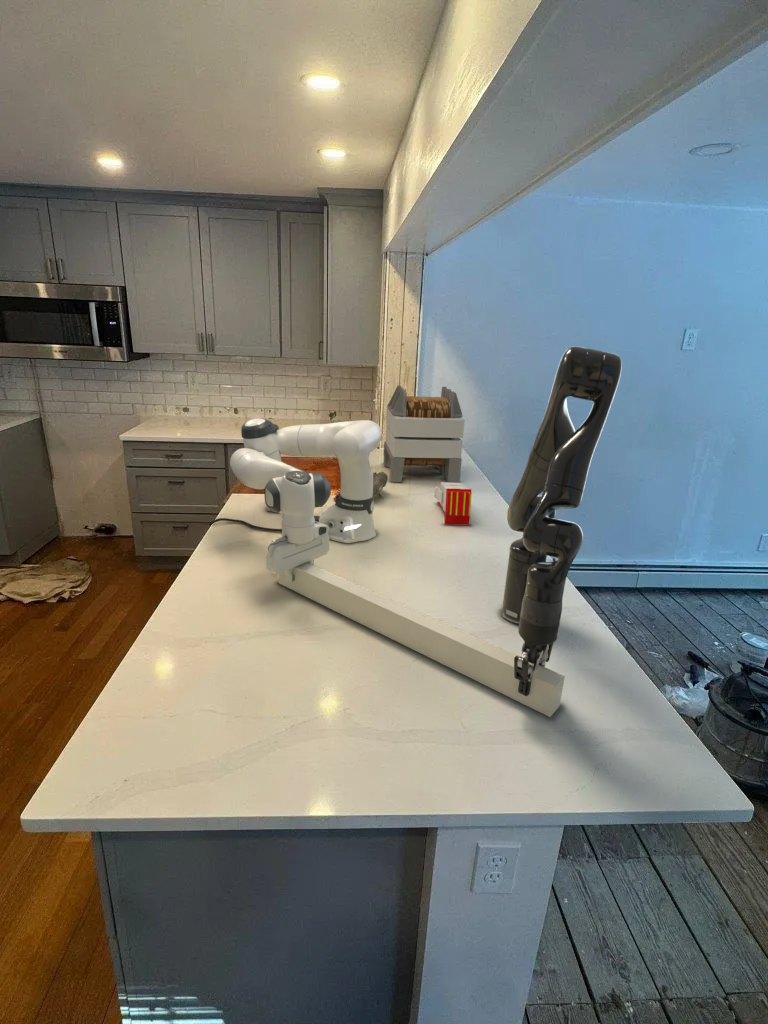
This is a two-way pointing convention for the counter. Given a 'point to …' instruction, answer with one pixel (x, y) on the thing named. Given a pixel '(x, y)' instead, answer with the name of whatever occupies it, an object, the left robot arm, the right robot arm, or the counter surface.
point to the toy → (454, 502)
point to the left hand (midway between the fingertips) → (298, 577)
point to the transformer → (424, 434)
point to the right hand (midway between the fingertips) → (529, 687)
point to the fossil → (379, 482)
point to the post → (427, 636)
